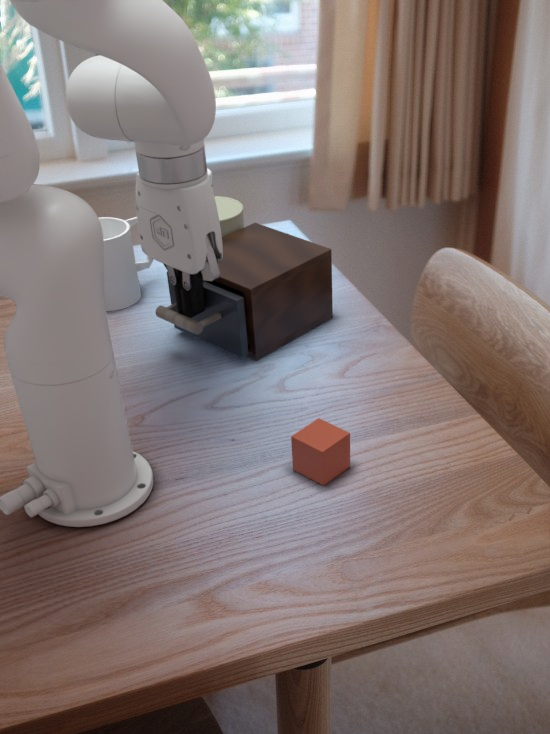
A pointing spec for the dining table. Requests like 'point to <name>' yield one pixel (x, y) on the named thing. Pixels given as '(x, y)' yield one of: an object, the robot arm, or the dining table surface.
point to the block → (321, 451)
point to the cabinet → (277, 284)
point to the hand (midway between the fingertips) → (192, 312)
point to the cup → (120, 264)
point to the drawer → (214, 318)
